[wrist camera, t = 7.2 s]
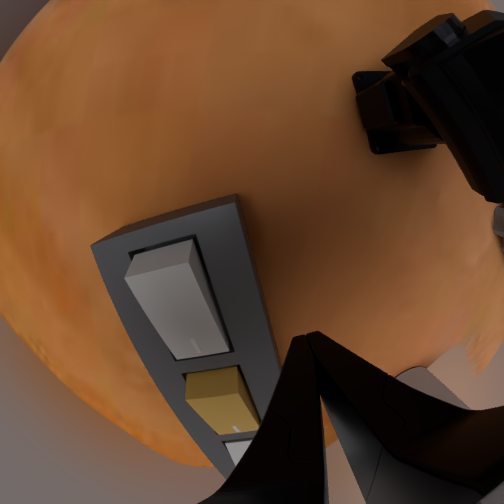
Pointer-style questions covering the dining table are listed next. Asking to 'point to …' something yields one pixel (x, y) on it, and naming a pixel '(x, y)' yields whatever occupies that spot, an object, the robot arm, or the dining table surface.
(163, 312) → the rocker
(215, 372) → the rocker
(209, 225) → the rocker switch panel
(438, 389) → the cup
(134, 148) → the dining table surface
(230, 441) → the rocker
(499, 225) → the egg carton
